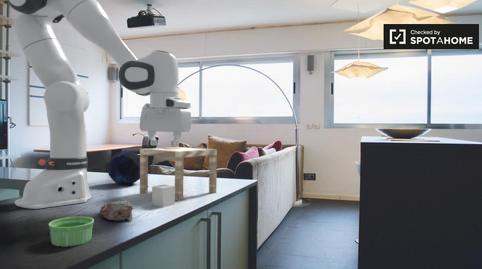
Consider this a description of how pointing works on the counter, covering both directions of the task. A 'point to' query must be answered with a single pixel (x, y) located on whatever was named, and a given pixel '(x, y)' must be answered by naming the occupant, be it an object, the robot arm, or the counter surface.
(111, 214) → the mineral rock
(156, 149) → the trapdoor
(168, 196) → the stone block
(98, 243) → the counter surface
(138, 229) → the counter surface
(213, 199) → the counter surface
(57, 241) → the ramekin
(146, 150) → the wooden stool
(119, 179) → the decorative orb
